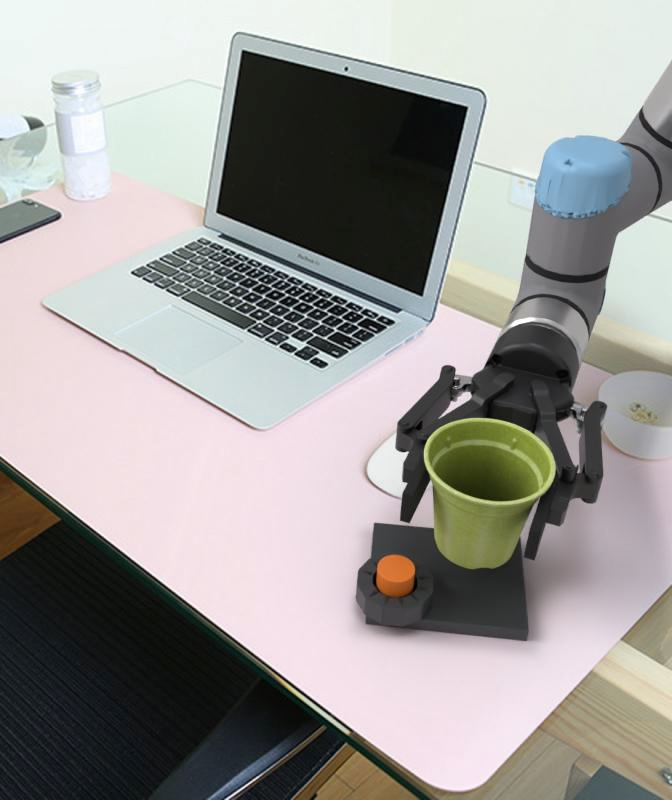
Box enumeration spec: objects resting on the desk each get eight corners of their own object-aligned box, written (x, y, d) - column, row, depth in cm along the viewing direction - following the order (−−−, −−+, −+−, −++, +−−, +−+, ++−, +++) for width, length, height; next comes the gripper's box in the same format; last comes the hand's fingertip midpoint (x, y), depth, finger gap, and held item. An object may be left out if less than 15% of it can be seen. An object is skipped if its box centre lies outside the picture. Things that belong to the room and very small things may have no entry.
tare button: (413, 572, 73) (415, 556, 72) (412, 600, 71) (414, 583, 70) (377, 568, 73) (378, 552, 72) (375, 596, 71) (376, 580, 70)
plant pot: (557, 536, 74) (578, 451, 69) (499, 609, 69) (516, 522, 63) (453, 485, 79) (465, 402, 74) (390, 549, 73) (398, 464, 68)
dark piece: (518, 546, 79) (523, 519, 77) (527, 651, 70) (533, 624, 68) (363, 531, 80) (364, 505, 79) (352, 632, 72) (354, 605, 70)
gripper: (652, 422, 82) (611, 609, 66) (416, 366, 89) (326, 522, 73) (673, 350, 78) (635, 531, 61) (423, 297, 85) (329, 446, 68)
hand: (467, 526), depth 67 cm, fingers closed on plant pot, 8 cm apart
